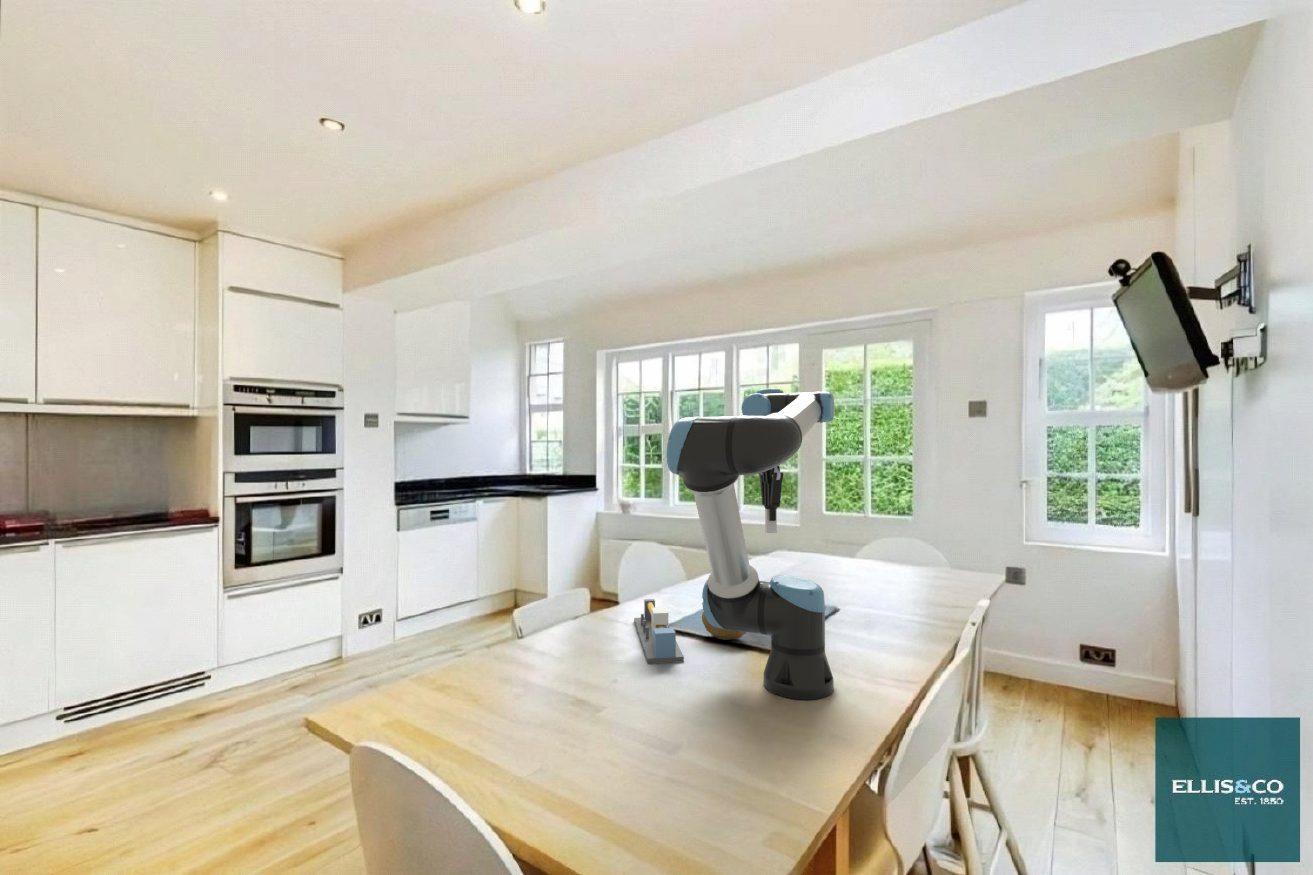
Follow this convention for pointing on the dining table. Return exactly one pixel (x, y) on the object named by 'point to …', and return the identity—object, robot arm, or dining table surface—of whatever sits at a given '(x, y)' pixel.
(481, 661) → the dining table surface
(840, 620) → the dining table surface
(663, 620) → the sleeve
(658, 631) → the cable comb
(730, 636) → the potato
